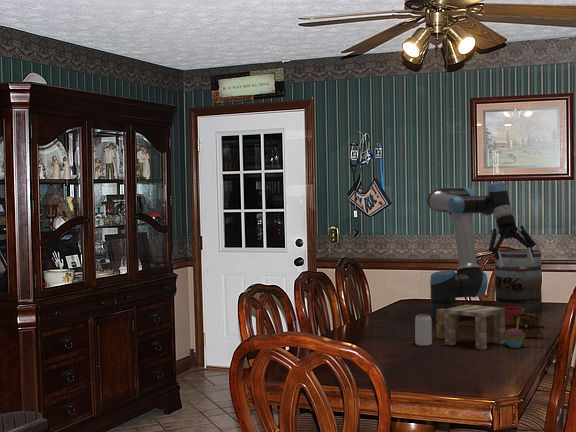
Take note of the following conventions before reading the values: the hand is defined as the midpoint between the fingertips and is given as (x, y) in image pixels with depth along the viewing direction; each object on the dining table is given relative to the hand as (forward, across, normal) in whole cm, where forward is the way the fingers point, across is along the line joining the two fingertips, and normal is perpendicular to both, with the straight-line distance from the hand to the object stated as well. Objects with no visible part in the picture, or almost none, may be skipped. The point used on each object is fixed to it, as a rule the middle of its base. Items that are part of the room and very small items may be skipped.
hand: (516, 265), depth 328 cm
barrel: (+7, +31, +73) cm, 80 cm away
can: (+27, -46, +4) cm, 53 cm away
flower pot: (+24, +1, +23) cm, 33 cm away
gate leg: (+25, -33, +9) cm, 43 cm away
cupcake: (+34, -14, -8) cm, 38 cm away
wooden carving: (+29, -1, +8) cm, 30 cm away
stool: (+30, -25, +1) cm, 39 cm away
